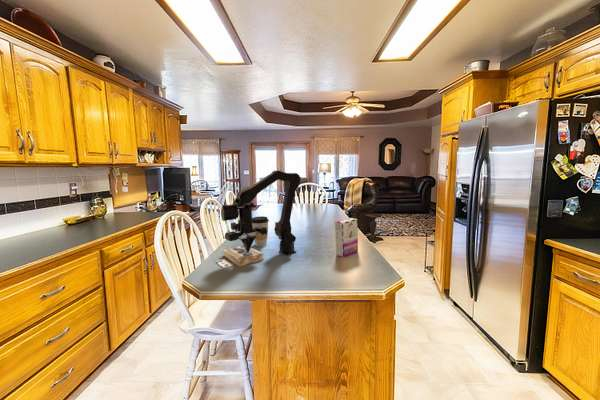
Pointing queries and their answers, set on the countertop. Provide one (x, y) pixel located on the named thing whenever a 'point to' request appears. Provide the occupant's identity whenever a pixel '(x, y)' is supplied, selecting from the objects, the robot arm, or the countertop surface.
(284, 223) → the robot arm
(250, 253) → the button
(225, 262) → the card
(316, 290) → the countertop surface
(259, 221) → the coffee cup
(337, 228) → the candy bar box
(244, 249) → the button middle
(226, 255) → the button board
